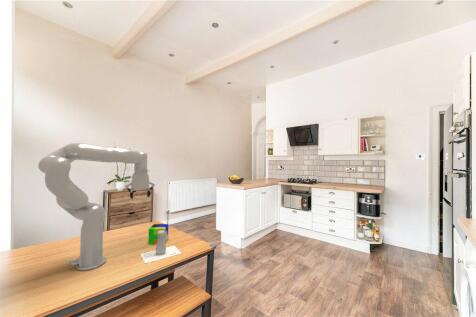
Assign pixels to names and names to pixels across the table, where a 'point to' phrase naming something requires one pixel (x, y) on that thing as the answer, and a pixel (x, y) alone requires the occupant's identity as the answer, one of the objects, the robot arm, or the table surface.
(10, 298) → the table surface
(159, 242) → the salt shaker
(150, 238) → the puzzle toy
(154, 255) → the letter
